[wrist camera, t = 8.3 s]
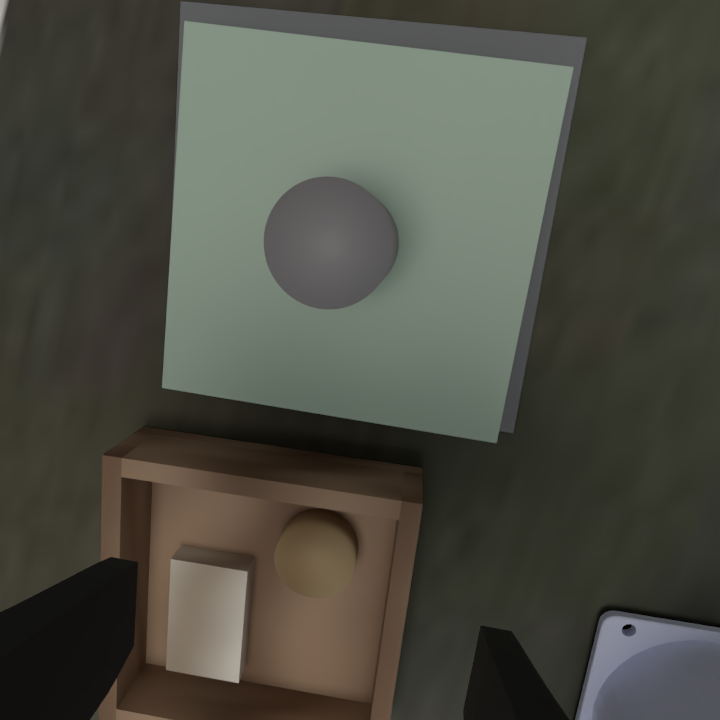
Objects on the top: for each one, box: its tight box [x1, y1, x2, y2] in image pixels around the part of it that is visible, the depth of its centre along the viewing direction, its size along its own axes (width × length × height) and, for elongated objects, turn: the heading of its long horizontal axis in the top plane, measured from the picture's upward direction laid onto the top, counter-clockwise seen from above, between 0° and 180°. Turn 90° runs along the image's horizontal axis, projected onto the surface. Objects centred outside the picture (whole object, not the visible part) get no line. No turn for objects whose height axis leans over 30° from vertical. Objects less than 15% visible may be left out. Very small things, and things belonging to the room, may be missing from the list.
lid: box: [162, 21, 574, 443], centre depth 17 cm, size 12×12×6 cm
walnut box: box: [99, 427, 423, 720], centre depth 22 cm, size 11×11×3 cm
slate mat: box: [172, 1, 587, 433], centre depth 20 cm, size 13×13×1 cm
